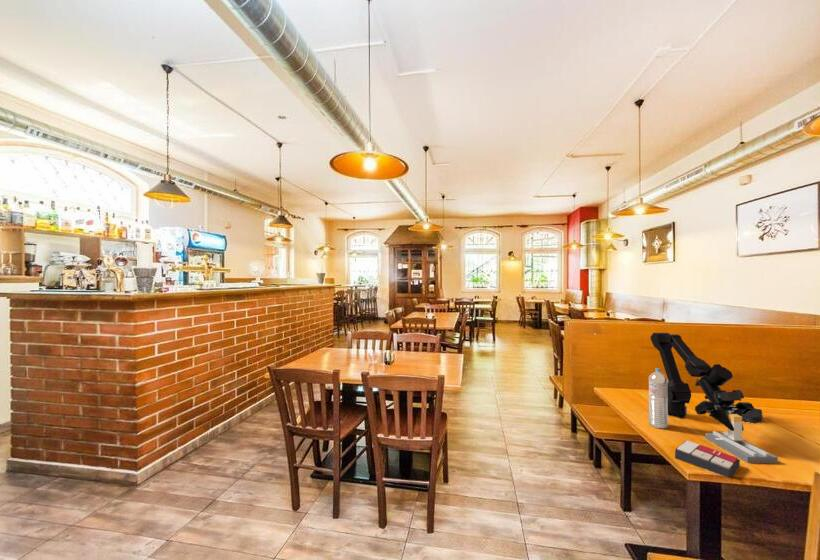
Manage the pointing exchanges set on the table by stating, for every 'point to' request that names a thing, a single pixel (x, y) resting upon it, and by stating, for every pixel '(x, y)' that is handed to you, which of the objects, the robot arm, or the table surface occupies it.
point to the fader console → (741, 448)
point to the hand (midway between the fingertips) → (737, 430)
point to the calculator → (707, 458)
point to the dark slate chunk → (748, 415)
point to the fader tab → (735, 428)
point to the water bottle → (658, 400)
